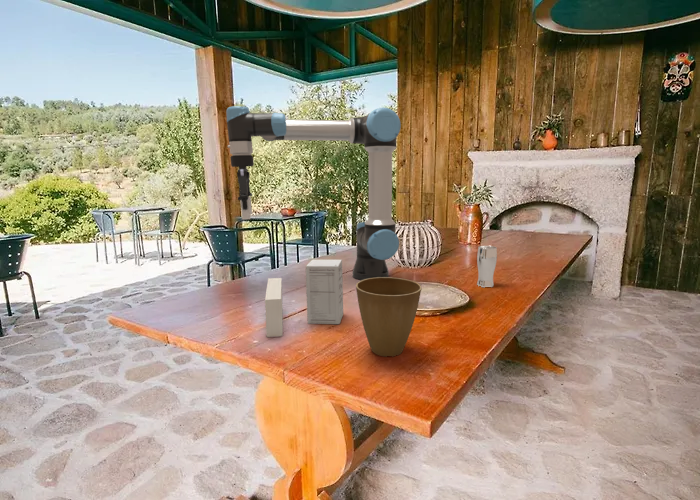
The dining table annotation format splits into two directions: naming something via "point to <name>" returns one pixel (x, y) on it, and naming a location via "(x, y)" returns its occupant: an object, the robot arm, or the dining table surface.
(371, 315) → the plant pot
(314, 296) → the supplement box
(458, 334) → the dining table surface
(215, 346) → the dining table surface
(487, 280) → the beer glass
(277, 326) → the white rectangular block
